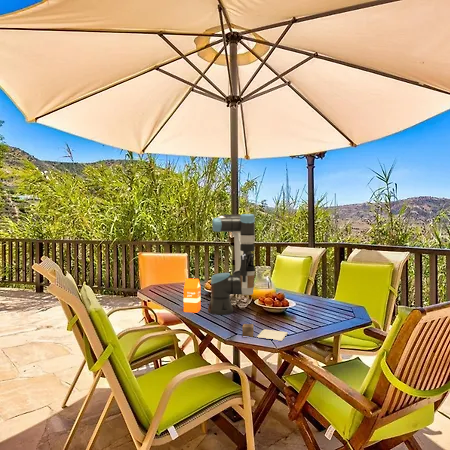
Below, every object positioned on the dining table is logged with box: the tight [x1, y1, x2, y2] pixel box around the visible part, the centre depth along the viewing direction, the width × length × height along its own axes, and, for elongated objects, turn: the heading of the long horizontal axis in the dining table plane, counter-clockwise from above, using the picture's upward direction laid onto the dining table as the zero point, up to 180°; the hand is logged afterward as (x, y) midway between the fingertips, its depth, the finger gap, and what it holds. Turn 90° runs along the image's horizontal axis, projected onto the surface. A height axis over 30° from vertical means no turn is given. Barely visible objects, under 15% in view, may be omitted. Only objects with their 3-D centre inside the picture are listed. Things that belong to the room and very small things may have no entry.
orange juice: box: [183, 277, 202, 314], centre depth 205 cm, size 8×9×20 cm
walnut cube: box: [241, 323, 255, 338], centre depth 160 cm, size 5×5×5 cm
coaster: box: [256, 329, 288, 342], centre depth 159 cm, size 12×12×1 cm
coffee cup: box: [240, 265, 256, 296], centre depth 174 cm, size 8×8×15 cm
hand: (247, 286), depth 174 cm, fingers closed on coffee cup, 8 cm apart
